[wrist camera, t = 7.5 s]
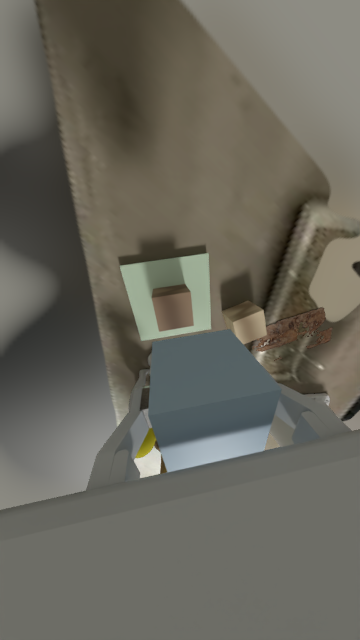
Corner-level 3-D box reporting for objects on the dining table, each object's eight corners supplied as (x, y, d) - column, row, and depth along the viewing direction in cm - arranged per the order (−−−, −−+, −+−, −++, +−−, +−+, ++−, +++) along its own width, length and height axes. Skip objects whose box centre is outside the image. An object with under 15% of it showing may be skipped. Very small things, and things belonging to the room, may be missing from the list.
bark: (335, 298, 32) (337, 299, 32) (330, 339, 37) (332, 340, 37) (238, 335, 34) (240, 337, 33) (247, 370, 39) (248, 371, 38)
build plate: (206, 253, 25) (208, 253, 24) (209, 326, 31) (211, 328, 30) (121, 265, 24) (119, 266, 23) (141, 338, 30) (141, 340, 29)
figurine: (177, 378, 36) (187, 455, 23) (141, 390, 37) (131, 473, 23) (162, 347, 32) (165, 420, 18) (121, 361, 32) (95, 443, 19)
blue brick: (230, 329, 11) (281, 389, 6) (227, 383, 13) (262, 453, 9) (152, 341, 10) (147, 415, 6) (164, 395, 13) (168, 475, 8)
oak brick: (247, 300, 30) (263, 309, 25) (251, 322, 32) (266, 335, 28) (221, 311, 30) (232, 322, 25) (227, 332, 32) (238, 346, 28)
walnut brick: (185, 283, 25) (190, 291, 21) (188, 313, 28) (193, 325, 23) (152, 288, 25) (151, 297, 21) (159, 318, 28) (159, 331, 23)
